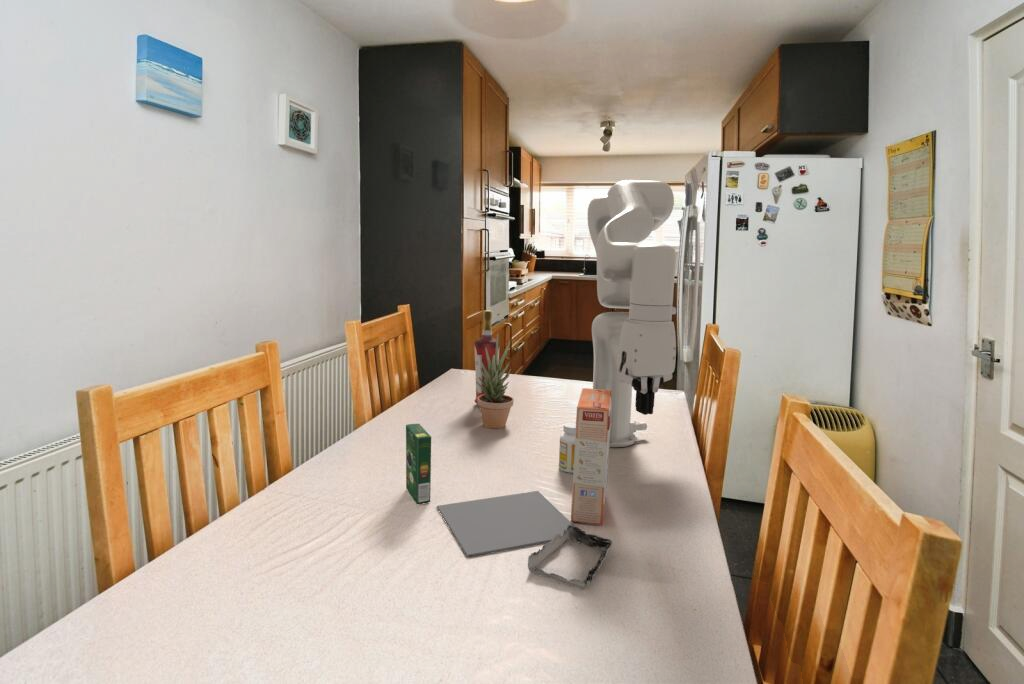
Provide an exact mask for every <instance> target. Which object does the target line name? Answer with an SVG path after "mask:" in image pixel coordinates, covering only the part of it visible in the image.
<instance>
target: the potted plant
mask: <svg viewBox="0 0 1024 684" xmlns="http://www.w3.org/2000/svg"><path fill="white" fill-rule="evenodd" d="M498 341H499V332H497V334H496V353H495V360H494V356H493V359H492V364H491V361H490V357H489V354H488V351H487V348H486V356H487V361H488V368H489V372H488V371H487V370H486V368H485V366H484V364H483V363H481V364H482V367H483V370H484V371H483V370H482V369H481V368H480V370H481V372H482V374H483V376H484V378H485V379H484V381H485V382H483V381H482V380H481V378H480V377H479V379H480V381H481V382H482V383H483V384H484V386H485V388H484V387H483V386H482V385H480V384H479V383H478V382H476V381H475V384H476V383H477V384H478V385H479V386H480V387H481V388H482V389H483V390H482V389H481V390H482V391H483V392H484V395H480V396H479V397H478V398H477V404H478V405H479V406H478V405H477V404H476V405H477V406H478V407H479V411H480V414H481V419H482V423H483V427H485V428H487V427H488V429H501V428H502V429H503V428H505V426H506V424H507V423H508V418H509V416H510V412H511V409H512V407H513V406H514V400H515V399H514V397H513V396H510V395H507V394H505V393H506V390H507V389H508V385H509V383H510V381H507V383H505V384H504V382H505V381H506V380H507V379H508V378H509V376H510V372H511V370H512V369H511V368H510V369H509V370H508V368H509V365H510V361H509V362H508V363H507V364H506V365H505V367H504V368H503V369H502V366H503V364H504V361H505V359H506V357H507V355H508V354H507V353H508V351H509V348H510V345H511V340H509V342H508V344H507V346H506V347H505V350H504V352H503V353H502V356H501V358H500V359H499V362H498V365H497V361H498ZM507 370H508V372H506V371H507ZM484 372H485V373H484ZM504 374H505V376H504ZM503 376H504V377H503ZM484 390H485V391H486V392H485V391H484Z"/></svg>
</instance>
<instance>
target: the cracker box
mask: <svg viewBox="0 0 1024 684" xmlns="http://www.w3.org/2000/svg"><path fill="white" fill-rule="evenodd" d="M575 423H576V432H575V451H574V470H573V473H572V489H571V490H572V492H571V495H572V496H571V511H570V522H571V523H579V524H580V523H582V524H588V525H597V526H603V523H604V514H605V506H606V496H607V494H606V493H607V483H608V469H609V458H610V457H609V455H610V454H609V453H610V447H609V443H610V427H611V391H610V390H604V389H593V388H587V387H586V388H585V387H584V388H582V389H581V392H580V395H579V399H578V402H577V406H576V419H575Z"/></svg>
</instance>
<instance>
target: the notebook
mask: <svg viewBox="0 0 1024 684" xmlns="http://www.w3.org/2000/svg"><path fill="white" fill-rule="evenodd" d="M436 508H438V509H437V510H438V511H440V512H439V514H440V513H441V514H442V515H441V514H440V515H441V517H442V516H443V517H442V519H443V518H444V519H443V520H444V522H445V521H446V522H445V523H446V526H449V527H448V528H449V530H450V531H452V532H451V533H452V535H453V537H454V538H455V540H456V539H457V540H456V541H457V542H459V543H458V545H459V544H460V545H459V546H460V548H461V547H462V548H461V550H462V551H463V552H465V553H464V554H465V556H466V555H467V556H466V558H471V556H472V557H476V556H477V555H478V556H482V555H488V554H493V553H492V552H494V553H499V552H503V551H504V552H505V551H509V550H515V549H519V547H521V548H525V546H526V547H531V546H536V544H537V545H541V544H545V543H548V542H550V541H551V539H552V538H553V537H554V536H555V535H556V534H561V535H560V536H562V535H563V533H564V530H566V529H567V527H568V525H573V526H575V524H573V522H572V521H571V520H569V519H568V518H567V517H566V516H565V515H564V514H563V513H562V512H561V511H560V510H559V509H558V508H556V506H555V505H554V504H553V503H552V502H550V501H549V500H548V499H547V498H546V497H545V496H544V495H543V494H542V493H541V492H540V491H539V490H535V491H529V492H528V491H527V492H521V493H520V492H519V493H514V494H508V495H501V496H500V495H499V496H495V497H488V498H481V499H474V500H467V501H460V502H453V503H447V504H441V505H437V506H436ZM568 537H569V536H568ZM514 548H515V549H514Z"/></svg>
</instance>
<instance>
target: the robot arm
mask: <svg viewBox="0 0 1024 684" xmlns="http://www.w3.org/2000/svg"><path fill="white" fill-rule="evenodd" d="M674 196H675V195H674V192H673V189H672V187H671V186H670V185H669V184H668V183H667V182H666V181H662V180H641V179H640V180H639V179H637V180H636V179H629V180H628V179H625V180H621V181H618V182H615V184H612V186H610V188H609V190H608V192H607V194H606V195H601V196H596V197H594V198H593V199H592V200H590V202H589V204H588V208H587V227H588V233H589V235H590V238H591V241H592V244H593V247H594V250H595V255H596V291H597V300H598V302H599V304H600V305H601V306H603V307H604V308H608V309H609V308H610V309H627V310H628V309H629V311H628V312H627V311H626V312H625V311H607V312H602V313H600V314H598V315H596V316H595V318H594V319H593V321H592V323H591V337H592V348H593V350H592V351H593V375H592V376H593V377H592V379H593V380H592V389H604V390H610V391H611V427H610V443H609V448H625V447H629V446H632V445H633V444H635V443H636V439H637V437H636V435H635V433H636V432H637V431H646V430H647V428H648V425H647V423H646V421H645V422H644V421H642V422H638V423H637V421H635V420H631V417H632V401H633V400H632V397H633V395H632V394H633V390H634V391H635V411H636V412H638V413H639V414H642V415H645V416H647V415H653V414H654V407H655V398H656V397H655V394H656V393H657V392H658V391H659V388H660V386H661V385H662V384H663V383H665V382H668V381H671V380H673V373H674V372H675V368H676V356H677V340H676V329H675V323H674V321H672V320H673V315H676V314H677V308H676V307H675V306H673V305H674V303H673V302H674V289H675V288H674V287H675V277H676V275H675V274H676V261H677V256H676V255H677V252H676V249H675V248H674V247H673V246H672V245H668V244H663V243H654V242H653V243H648V242H647V243H646V242H643V241H645V240H646V239H647V238H648V237H650V235H651V233H652V232H653V231H656V230H657V229H659V228H660V226H662V225H663V224H664V223H665V222H666V221H667V220H668V219H669V218H670V217H671V215H672V213H673V210H674V204H675V203H674V202H675V198H674Z"/></svg>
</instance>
